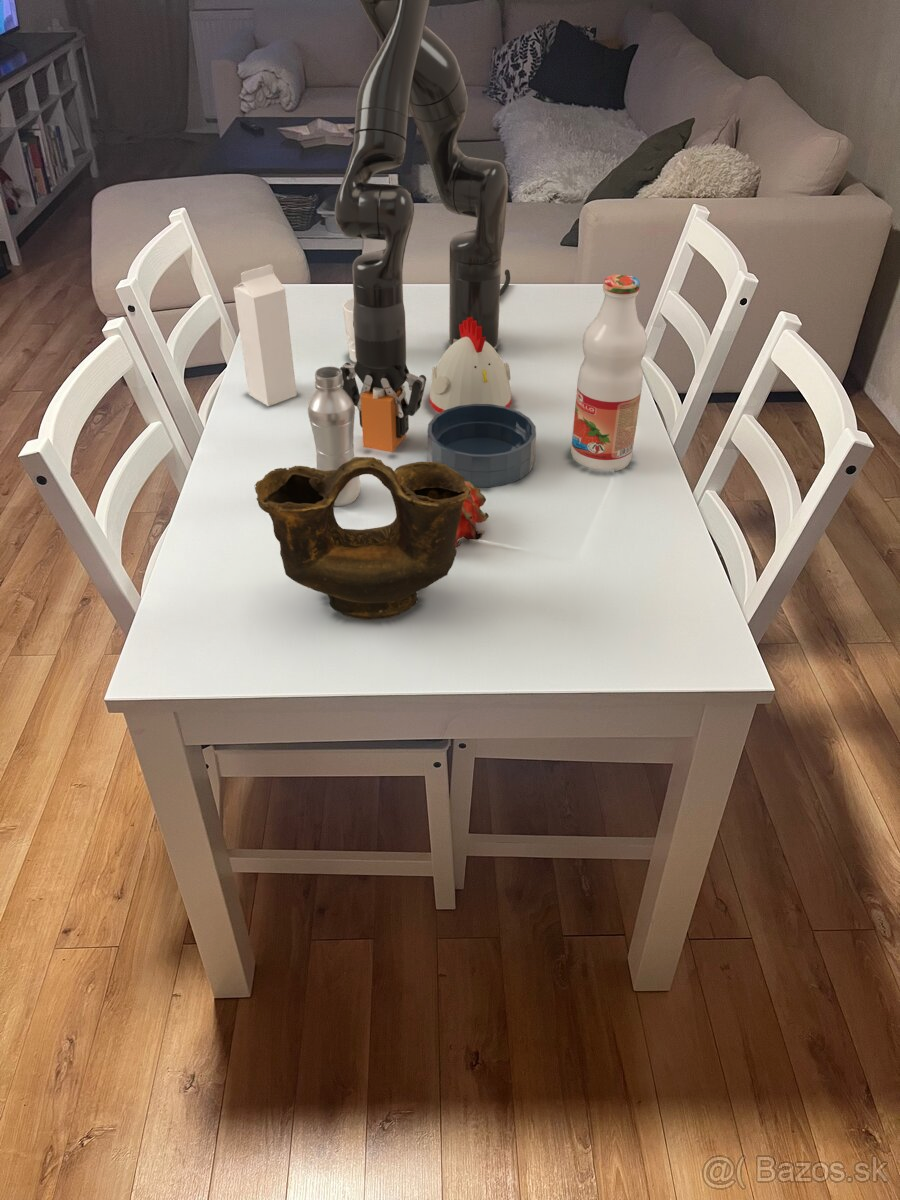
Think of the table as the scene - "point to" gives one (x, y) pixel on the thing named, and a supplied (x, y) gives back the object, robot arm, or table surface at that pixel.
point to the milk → (265, 336)
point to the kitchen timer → (470, 373)
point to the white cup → (350, 327)
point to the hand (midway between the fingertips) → (384, 432)
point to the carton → (379, 421)
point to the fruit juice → (610, 380)
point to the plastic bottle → (333, 427)
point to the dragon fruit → (471, 515)
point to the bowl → (483, 443)
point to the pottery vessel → (366, 533)
